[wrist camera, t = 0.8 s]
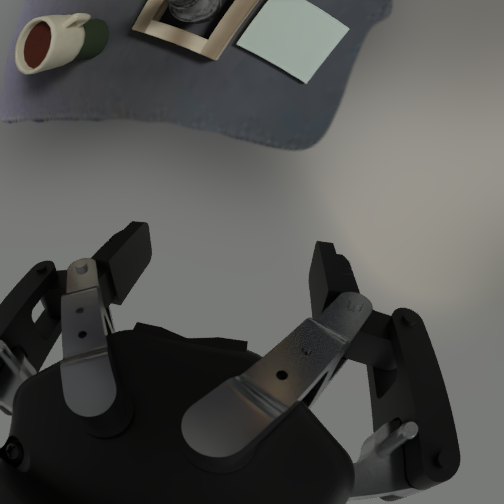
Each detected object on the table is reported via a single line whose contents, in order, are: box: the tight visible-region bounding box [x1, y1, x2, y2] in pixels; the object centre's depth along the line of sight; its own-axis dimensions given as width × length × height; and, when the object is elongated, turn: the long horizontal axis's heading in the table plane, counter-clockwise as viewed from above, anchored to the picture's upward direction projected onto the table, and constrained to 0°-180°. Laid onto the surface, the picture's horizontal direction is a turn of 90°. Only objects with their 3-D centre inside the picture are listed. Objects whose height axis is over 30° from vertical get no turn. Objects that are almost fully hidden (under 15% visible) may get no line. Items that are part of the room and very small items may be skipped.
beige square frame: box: [132, 0, 259, 60], centre depth 21 cm, size 12×12×2 cm
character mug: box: [14, 13, 109, 75], centre depth 18 cm, size 11×7×13 cm, turn 107°
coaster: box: [237, 0, 349, 84], centre depth 24 cm, size 10×10×1 cm
